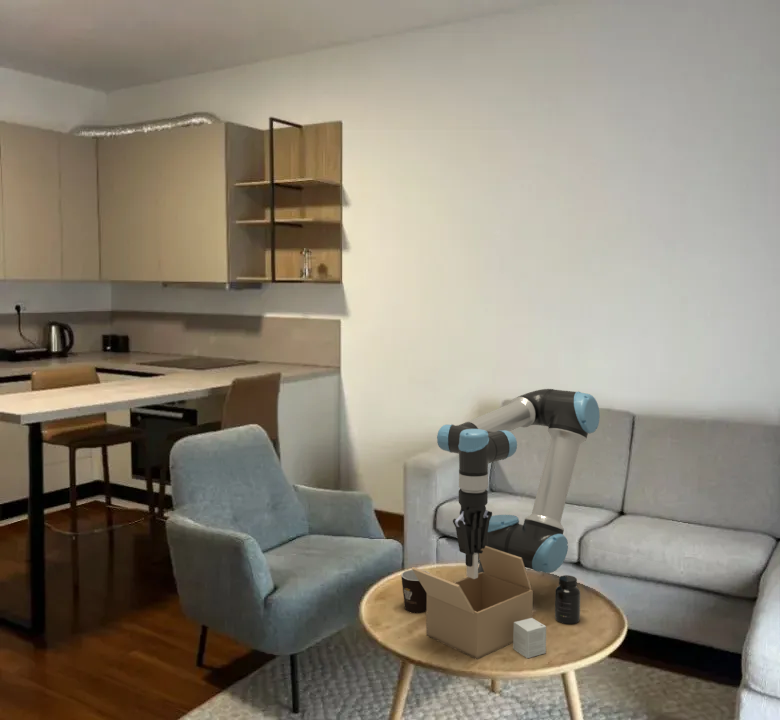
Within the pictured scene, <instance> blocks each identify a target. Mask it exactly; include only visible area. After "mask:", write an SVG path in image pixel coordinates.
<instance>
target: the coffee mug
mask: <svg viewBox="0 0 780 720" xmlns="http://www.w3.org/2000/svg"><path fill="white" fill-rule="evenodd" d="M421 570H422V571H425V572H427V573H430V572H429V571H427V570H423V569H421ZM400 577H401V585H402V587H401V588H402V594H403V604H404V610H405V611H406V612H408V613H410V612H411V614H422V613H425V612H427V593H426V591H425V590H424V588H423V586H422V585H421V583H420V581H419V580H418V578H417V577H416V575H415V573H414V572H413V570H412V569H408V570H405V571H403V572H401V575H400Z"/></svg>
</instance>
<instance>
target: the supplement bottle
mask: <svg viewBox="0 0 780 720" xmlns="http://www.w3.org/2000/svg"><path fill="white" fill-rule="evenodd" d="M577 586H578V580H577V577H575V576H573V575H569V574H568V575H567V574H565V575H561V576H559V577H558V586H556V588H555V590H554V591H555V593H554V595H555V596H554V598H555V599H554V610H555V611H554V616H555V617H554V619H555V620H556V621H557V622H558V623H560V624H565V625H573V624H577V623H579V622H580V619H581V591H580V588H579V587H577Z"/></svg>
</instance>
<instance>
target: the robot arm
mask: <svg viewBox="0 0 780 720" xmlns="http://www.w3.org/2000/svg"><path fill="white" fill-rule="evenodd" d="M599 424H600V408H599V404H598V401H597V400H596V397H594V396H593V395H592V394H590V393H584V392H581V391H570V390H561V389H554V388H543V389H538V390H537V389H536V390H533V391H531V392H527V393H525V394H521V395H519V396H515V398H512V400H511V401H510V402H509V404H505V405H503V406H501V407H499V408H496V409H494V410H492V411H489V412H487V413H484V414H482V415H480V416H477V417H476V418H472V419H471V420H468V421H465V422H464V423H461V424H457V425H455V424H452V423H451V424H443V425H442V426H440V428H439V430H438V432H437V435H436V439H437V440H436V442H437V443H436V444H437V445H438V447H439V448H440V450H442V451H445V452H449V453H450V454H451V453H452V454H453V453H454V454H458V466H459V467H458V489H459V490H458V504H459V505H460V510H459V516H458V517H457V518H453V520H452V524H453V525H454V527H455V532H456V537H457V538H456V539H457V545H458V549H459V552H460V553H463V554H465V567H466V572H465V573H466V578H467V577H470V578H472V579H476V578H478V573H480V572H484V570H483V567H482V564H481V562H480V559H479V553H482V552H483V551H482V550H481V549H484V548H485V546H488V547H491V548H494V549H497V550H500V551H503V552H506V553H509V554H512V555H515V556H518V557H521V558H522V560H523V563H524V566H525V569H526V568H527V569H530V570H533V571H535V572H538V573H540V572H541V573H545V574H551V573H554V572H556V571H557V570H558V569H559V568H560V567H561V566H562V565H563V563H564V561H565V559H566V557H567V556H568V555H567V554H568V549H569V545H568V544H569V542H568V538H567V537H566V536H565V535H564V532H565V529H564V527H563V525H562V521H561V520H562V517H563V513H564V509H565V505H566V502H567V497H568V494H569V489H570V486H571V481H572V478H573V473H574V470H575V465H576V461H577V458H578V453H579V449H580V445H582V444H583V443H584V442H586V441H587V438H588V435H589V434H593V433H594V432H596V430H597V429H598V427H599ZM531 426H542V427H547V431H548V433H549V435H550V441H549V444H548V448H547V453H546V457H545V460H544V465H543V468H542V472H541V475H540V480H539V483H538V488H537V492H536V495H535V500H534V503H533V507H532V511H531V514H530V515H528V516H526V517H525V518H524V520H523V524H520V519H519V517H518V516H516V515H513V514H495V515H493V512H492V511H489V510H487V507H486V505H487V504H488V502H489V501H488V500H489V499H488V496H489V495H488V494H489V493H488V490H487V489H488V488H489V464H491V463H495V462H498V461H501V460H502V461H503V460H506V459H508V458H510V457H512V456H514V455H515V453H516V452H517V449H518V441H517V438H516V436H515V435H514V433H513V432H512V431H513V430H516V429H518V428H528V427H531Z"/></svg>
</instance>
